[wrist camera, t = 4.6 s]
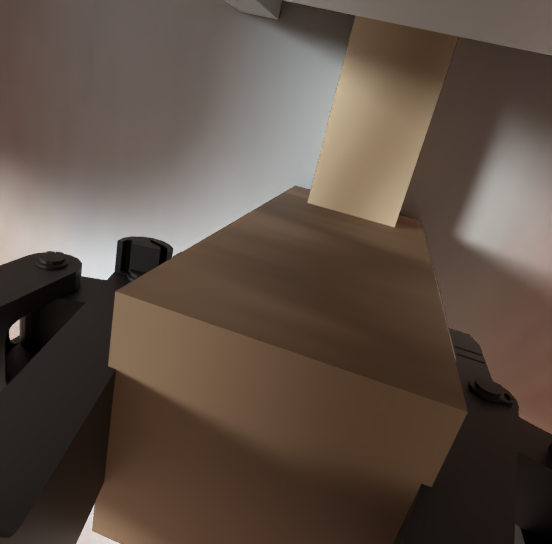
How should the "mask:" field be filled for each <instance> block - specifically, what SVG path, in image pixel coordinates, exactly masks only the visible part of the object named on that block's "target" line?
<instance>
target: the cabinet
mask: <svg viewBox="0 0 552 544" xmlns="http://www.w3.org/2000/svg"><path fill="white" fill-rule="evenodd" d="M224 1H225V2H227V3H228V4H230V5H231V6H232V7H234V8H235V9H236V10H238V11H239V12H244V13H248V14H253V15H258V16H262V17H267V18H272V19H276V20H279V15H280V10H281V5H282V0H224ZM283 1H288V2H293V3H298V4H303V5H307V6H312V7H317V8H322V9H327V10H332V11H337V12H342V13H346V14H351V15H356V16H361V17H366V18H371V19H376V20H381V21H385V22H390V23H395V24H400V25H405V26H410V27H415V28H420V29H424V30H429V31H434V32H439V33H444V34H449V35H454V36H459V37H463V38H468V39H473V40H478V41H483V42H488V43H493V44H498V45H502V46H507V47H512V48H517V49H522V50H527V51H532V52H537V53H541V54H546V55H551V56H552V0H283Z"/></svg>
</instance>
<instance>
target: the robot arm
mask: <svg viewBox="0 0 552 544" xmlns="http://www.w3.org/2000/svg"><path fill="white" fill-rule="evenodd" d="M172 253H173V248H172V247H171V246H170V245H169V244H167V243H165V242H163V241H160V240H157V239H154V238H147V237H126V238H122V239H120V240H118V244H117V254H116V265H115V272H114V273H113V274H112V275H111V276H110V278H109V279H108V280H100V279H94V278H88V277H82V276H81V270H82V263H81V262H80V260H79V259H77V258H75V257H73V256H70V255H66V254H63V253H61V252H56V253H55V252H51V251H49V252H46V253H36V254H32V255H28V256H25V257H22V258H20V259H17V260H14V261H11V262H9V263H6V264H3V265H0V544H76V543H77V540H78V538H79V536H80V534H81V532H82V529H83V527H84V525H85V523H86V521H87V519H88V516H89V514H90V512H91V510H92V508H93V506H94V503H95V501H96V499H97V497H98V495H99V492H100V490H101V488H102V486H103V484H104V478H105V468H106V459H107V450H108V440H109V431H110V421H111V412H112V402H113V393H114V383H115V374H116V369H114V368H112V367H109V366H108V362H109V351H110V341H111V330H112V320H113V310H114V299H115V291H117V290H118V289H120V288H122V287H123V286H125V285H127V284H129V283H130V282H132V281H134V280H135V279H137V278H139V277H141V276H142V275H144V274H146V273H147V272H149V271H151V270H152V269H154V268H156V267H158V266H159V265H161V264H163V263H164V262H166V261H168V260H170V259H171V258H173V257H175V256H176V255H175V256H173V257H172ZM180 253H181V252H180ZM180 253H178V254H180ZM178 254H177V255H178ZM433 271H434V268H433ZM434 275H435V272H434ZM435 279H436V276H435ZM436 283H437V280H436ZM437 287H438V284H437ZM438 292H439V288H438ZM439 296H440V292H439ZM440 300H441V296H440ZM441 304H442V300H441ZM442 308H443V304H442ZM443 312H444V308H443ZM444 316H445V312H444ZM19 319H20V336H18V337H16V338H15V339H13V340H10V338H9V329H10V327H11V326H12V325H13V324H14V323H15V322H16V321H17V320H19ZM445 320H446V316H445ZM446 325H447V329H448V333H449V337H450V341H451V345H452V349H453V353H454V358H455V362H456V366H457V370H458V374H459V378H460V382H461V386H462V391H463V395H464V399H465V403H466V407H467V411H468V413H467V415H466V417H465V419H464V421H463V423H462V425H461V427H460V429H459V431H458V433H457V436H456V438H455V440H454V442H453V444H452V446H451V448H450V450H449V452H448V454H447V456H446V458H445V460H444V463H443V465H442V467H441V469H440V471H439V473H438V475H437V477H436V479H435V481H434V483H433V485H432V487H429V486H427V485H424V484H421V485H420V488H419V490H418V492H417V494H416V496H415V498H414V500H413V503H412V505H411V507H410V509H409V511H408V513H407V515H406V517H405V520H404V522H403V524H402V526H401V528H400V530H399V532H398V534H397V537H396V539H395V541H394V543H393V544H552V434H550V433H548V432H546V431H544V430H542V429H540V428H538V427H536V426H534V425H532V424H531V423H529V422H527V421H525V420H524V419H522V418H520V417H519V416H518V412H519V406H518V403H517V400H516V399H515V398H514V397H513V396H512V394H511V393H510V392H509V391H507V390H506V389H505V388H503V387H502V386H501V385H499V384H497V383H495V382H493V381H492V378H491V376H490V373H489V370H488V367H487V365H486V362H485V359H484V357H483V354H482V351H481V348H480V346H479V344H478V343H477V342H476V341H475V340H474V339H473V338H472V337H471V336H470V335H468V334H465V333H462V332H459V331H456V330H453V329H449V328H448V324H447V320H446Z"/></svg>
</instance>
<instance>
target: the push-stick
mask: <svg viewBox="0 0 552 544" xmlns="http://www.w3.org/2000/svg"><path fill="white" fill-rule="evenodd" d="M458 39H459V36H454V35H449V34H444V33H439V32H434V31H429V30H424V29H420V28H415V27H410V26H405V25H400V24H395V23H390V22H385V21H381V20H376V19H371V18H366V17H361V16H356V15H355V19H354V22H353V26H352V30H351V34H350V38H349V42H348V46H347V50H346V54H345V58H344V62H343V65H342V69H341V73H340V77H339V81H338V85H337V89H336V93H335V97H334V101H333V105H332V109H331V112H330V116H329V120H328V124H327V128H326V132H325V136H324V140H323V144H322V148H321V152H320V155H319V159H318V163H317V167H316V171H315V175H314V179H313V183H312V187H311V190H309V189H305V188H302V187H298V186H294V187H292V188H291V189H289V190H287V191H286V192H284V193H282V194H280V195H279V196H277V197H275V198H274V199H272V200H270V201H268V202H267V203H265V204H263V205H262V206H260V207H258V208H257V209H255V210H253V211H251V212H250V213H248V214H246V215H245V216H243V217H241V218H239V219H238V220H236V221H234V222H233V223H231V224H229V225H228V226H226V227H224V228H222V229H221V230H219V231H217V232H216V233H214V234H212V235H210V236H209V237H207V238H205V239H204V240H202V241H200V242H199V243H197V244H195V245H193V246H192V247H190V248H188V249H187V250H185V251H183V252H181V253H180V254H178V255H176V256H175V257H173V258H171V259H170V260H168V261H166V262H164V263H163V264H161V265H159V266H158V267H156V268H154V269H152V270H151V271H149V272H147V273H146V274H144V275H142V276H141V277H139V278H137V279H135V280H134V281H132V282H130V283H129V284H127V285H125V286H123V287H122V288H120V289H118V290H117V291H115V299H114V310H113V320H112V330H111V341H110V351H109V362H108V366H109V367H112V368H114V369H116V374H115V383H114V393H113V402H112V412H111V421H110V431H109V440H108V450H107V459H106V468H105V478H104V484H103V486H102V488H101V490H100V492H99V495H98V497H97V499H96V501H95V507H94V517H93V528H92V531H94V532H96V533H98V534H100V535H103V536H105V537H107V538H109V539H111V540H114V541H116V542H118V543H120V544H393V543H394V541H395V539H396V537H397V534H398V532H399V530H400V528H401V526H402V524H403V522H404V520H405V517H406V515H407V513H408V511H409V509H410V507H411V505H412V503H413V500H414V498H415V496H416V494H417V492H418V490H419V488H420V485H421V484H424V485H427V486H429V487H432V485H433V483H434V481H435V479H436V477H437V475H438V473H439V471H440V469H441V467H442V465H443V463H444V460H445V458H446V456H447V454H448V452H449V450H450V448H451V446H452V444H453V442H454V440H455V438H456V436H457V433H458V431H459V429H460V427H461V425H462V423H463V421H464V419H465V417H466V415H467V413H468V411H467V407H466V403H465V399H464V395H463V391H462V386H461V382H460V378H459V374H458V370H457V366H456V362H455V358H454V353H453V349H452V345H451V341H450V337H449V333H448V329H447V325H446V320H445V316H444V312H443V308H442V304H441V300H440V296H439V292H438V287H437V283H436V279H435V275H434V271H433V267H432V263H431V259H430V254H429V250H428V246H427V242H426V238H425V234H424V230H423V226H422V221H421V220H417V219H414V218H410V217H407V216H403V215H399V213H400V210H401V207H402V204H403V201H404V198H405V195H406V192H407V189H408V186H409V183H410V180H411V177H412V175H413V172H414V169H415V166H416V163H417V160H418V157H419V154H420V151H421V148H422V145H423V142H424V139H425V136H426V133H427V130H428V127H429V124H430V121H431V118H432V115H433V112H434V110H435V107H436V104H437V101H438V98H439V95H440V92H441V89H442V86H443V83H444V80H445V77H446V74H447V71H448V68H449V65H450V62H451V59H452V56H453V53H454V50H455V47H456V44H457V42H458Z"/></svg>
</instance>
